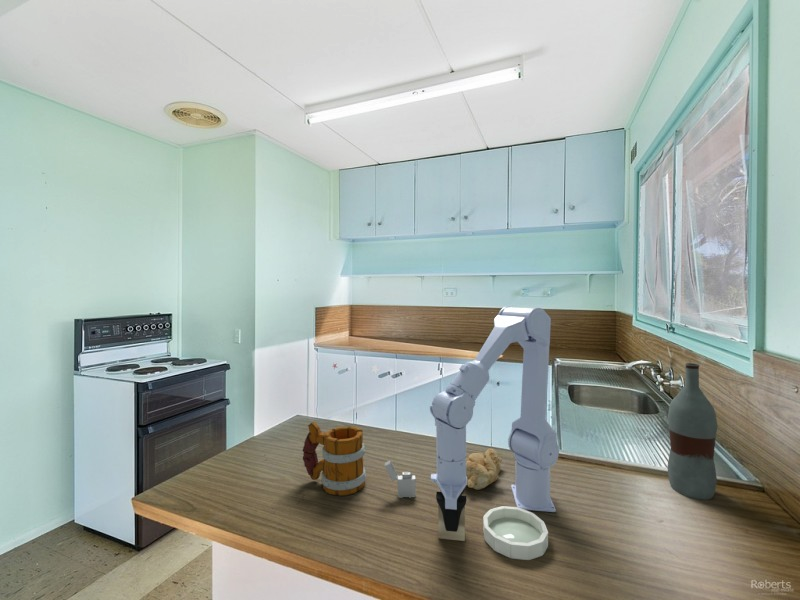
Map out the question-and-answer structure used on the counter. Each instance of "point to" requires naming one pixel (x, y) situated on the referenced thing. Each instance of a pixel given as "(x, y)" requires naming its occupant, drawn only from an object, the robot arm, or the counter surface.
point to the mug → (336, 459)
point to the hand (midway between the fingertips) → (451, 524)
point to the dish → (515, 532)
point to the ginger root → (482, 469)
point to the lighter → (402, 481)
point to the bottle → (692, 440)
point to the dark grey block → (450, 534)
